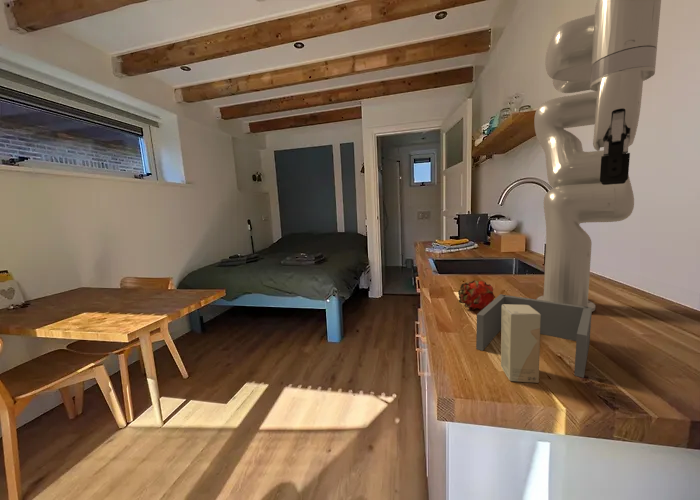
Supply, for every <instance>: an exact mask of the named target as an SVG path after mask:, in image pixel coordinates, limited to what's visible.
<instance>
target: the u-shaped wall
mask: <svg viewBox="0 0 700 500" xmlns="http://www.w3.org/2000/svg"><path fill="white" fill-rule="evenodd" d="M503 304H513V305H529V306H531V307H532V308H533V309H535V310H536V311H537V312H538V313H540V314H541V320H540V335H544V336H550V337H555V338H559V339H560V338H561V339H563V340H564V339H565V340H569V341H573V342H575V356H574V357H575V358H574V360H575V361H574V376H576V377H579V378H583V379H584V378H585V373H586V372H585V371H586V366H587V361H588V360H587V359H588V356H589V355H588V353H589V347H590V340H591V328H592V315H593V314H592V307H586V306H579V305H572V304H565V303H558V302H551V301H544V300H537V298H536V299H535V298H530V297H529V298H528V297H522V296H514V295H507V294H499V295H497V297H495V298H494V300H493V301H492V302H491V303H490V304H488V305H487V306H486V307H485V308H484V309H483V310H479V311H478V312H477V313H476V334H475V335H476V338H475V339H476V340H475V341H476V343H475V345H476V347H475V349H476V350H478V351H482V352H483V351H484V350H485V349H486V348H487V346H488V345H489V344H490V343H491V341H493V339H495V337H496V336H497V334H499V332H501V316H502V305H503Z"/></svg>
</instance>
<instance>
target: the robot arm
mask: <svg viewBox="0 0 700 500" xmlns="http://www.w3.org/2000/svg"><path fill="white" fill-rule="evenodd" d="M661 6H662V0H597V1H596V4H595V7H594V8H595V9H594V14H589V15H585V16H583V17H580V18H575V19H572V20H570V21H567V22H564V23H563V24H561V25H560V26H559V27H557V28H556V29H555V31H554V33H553V34H552V35H551V39H550V40H549V42H548V45H547V48H546V52H545V61H544V62H545V63H544V64H545V70H546V73H547V76H548V77H549V78H550V79H552V84H553V85H552V86H553V87H554V89H555V90H556V91H558V92H559V93H563V94H572V95H567V96H566V95H565V96H561V97H560V96H559V97H556V98H552V99H549V100H547V101H545V102H543V103H541V104H540V105H539V106H538V107H537V108H536V111H535V114H534V117H533V118H534V120H533V121H534V123H533V124H534V132H535V135H536V139H537V141H538V142H539V145H540V147H541V148H542V149H543V152H544V155H545V165H546V166H545V167H546V176H547V181H548V184H549V186H551V189H550V190H548V191H547V192H546V193H545V195H544V198H543V210H544V211H543V212H544V219H545V258H544V259H545V260H544V283H543V295H540V296H538V297H537V298H536V299H537V300H544V301H551V302H558V303H565V304H572V305H579V306H586V307H592V312H595V310H596V304H595V303H593V302H592V301H590V300H589V292H590V291H589V289H590V276H591V275H590V273H591V261H592V260H591V259H592V239H591V236H590V235H589V233H587V232H586V230H584V229H583V228H582V227H581V225H580V224H586V223H613V222H614V223H616V222H617V223H618V222H621V221H624V220H626V219H628V218H629V217H630V216H631V215H632V213H633V212H634V208H635V198H634V191H633V186H632V184H631V183H632V182H631V179H630V176H629V171H630V157H631V152H629V147H631V146H632V145H633V143H634V140H635V138H636V134H637V130H638V125H639V121H640V120H639V119H640V114H641V108H642V107H641V106H642V96H643V85H644V81H647V80H649V79H651V78H653V76H654V75H656V74H655V73H656V66H657V65H656V64H657V63H656V62H657V50H658V42H659V41H658V40H659V29H660V28H659V27H660V19H661V18H660V16H661V8H662V7H661ZM585 91H586V92H585ZM587 91H589V92H587ZM580 92H584V93H580ZM574 93H576V94H574ZM577 93H578V94H577ZM593 125H594V126H593ZM585 126H593V127H594V129H593V139H592V146H593V148H594V150H595V151H594V150H592V151H584V150H583V144H582V141H581V139H579V137H577V136H576V135H575V134H573V133H572V132H571V131H568V130H566V129H570V128H579V127H585ZM601 148H603V149H602V150H600V149H601Z"/></svg>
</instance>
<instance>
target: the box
mask: <svg viewBox="0 0 700 500" xmlns="http://www.w3.org/2000/svg"><path fill="white" fill-rule="evenodd" d="M540 320H541V314H540V313H538V312H537V311H536V310H535V309H533V308H532V307H531V306H529V305H513V304H503V305H502V316H501V330H500V333H501V334H500V335H501V336H500V337H501V338H500V339H501V341H500V367H501V368H502V370H503V372H504V374H505V375H506V378H508V381H511V382H520V383H522V382H523V383H534V384H535V383H540V356H541V355H540V352H541V351H540V348H541V346H540V345H541V334H540Z"/></svg>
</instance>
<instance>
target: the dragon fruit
mask: <svg viewBox="0 0 700 500" xmlns="http://www.w3.org/2000/svg"><path fill="white" fill-rule="evenodd" d="M457 293H458V299H459V300H458V302H459V303H460V304H462V305H464V307H465V308H468V309H469V310H470V311H474V310H476V309H478V310H479V311H481V310H483V309H484V308H485V307H486V306H487V305H488V304H490V303H491V302H492V301H493V300H494V299H495V298H496V295H495V294H494V288H493V286H492V284H489V283H487V282H486V281H485V280H483V279H482V280H479V281H477V280H475V279H474V280H471V281H468V282H465V283H462V284H461V285H460V288H459V290H458V292H457Z"/></svg>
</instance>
